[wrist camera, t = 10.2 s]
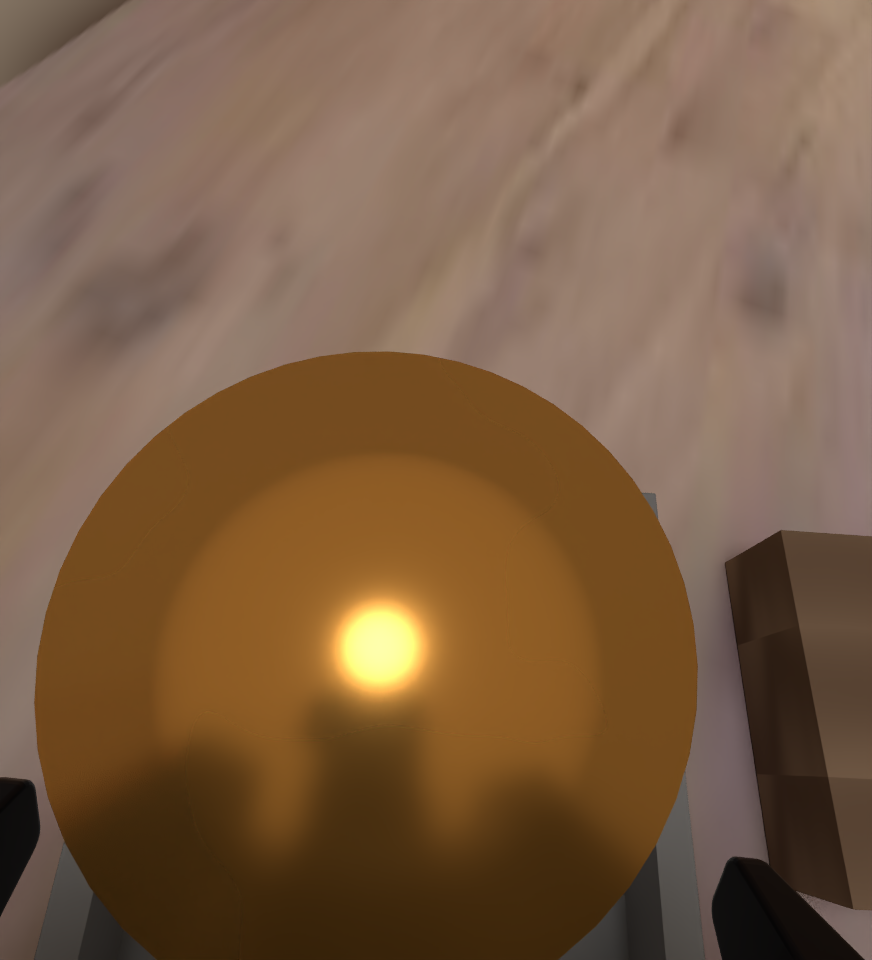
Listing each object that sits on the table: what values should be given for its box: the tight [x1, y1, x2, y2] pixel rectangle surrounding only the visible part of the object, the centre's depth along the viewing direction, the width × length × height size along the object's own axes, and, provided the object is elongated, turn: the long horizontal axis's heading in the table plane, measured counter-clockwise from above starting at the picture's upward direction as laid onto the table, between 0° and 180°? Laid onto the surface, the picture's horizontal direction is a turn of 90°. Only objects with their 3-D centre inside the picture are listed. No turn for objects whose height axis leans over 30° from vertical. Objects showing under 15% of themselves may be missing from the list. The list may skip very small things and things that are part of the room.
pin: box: [34, 352, 698, 960], centre depth 10 cm, size 4×4×13 cm
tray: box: [34, 493, 705, 960], centre depth 15 cm, size 14×13×3 cm
